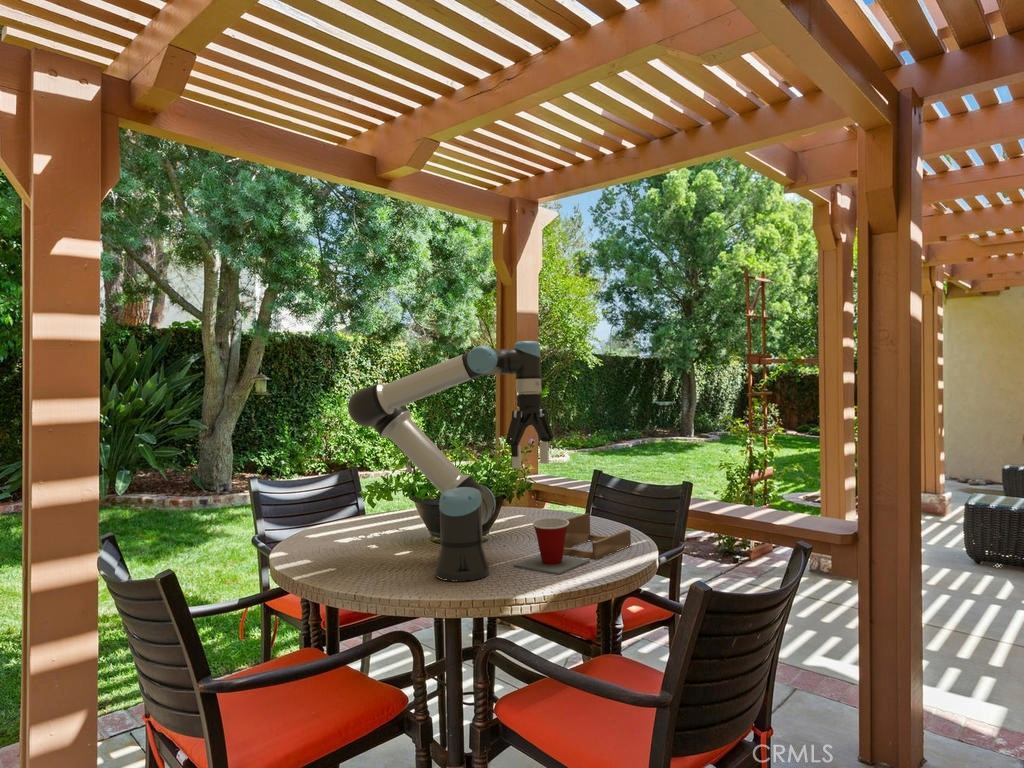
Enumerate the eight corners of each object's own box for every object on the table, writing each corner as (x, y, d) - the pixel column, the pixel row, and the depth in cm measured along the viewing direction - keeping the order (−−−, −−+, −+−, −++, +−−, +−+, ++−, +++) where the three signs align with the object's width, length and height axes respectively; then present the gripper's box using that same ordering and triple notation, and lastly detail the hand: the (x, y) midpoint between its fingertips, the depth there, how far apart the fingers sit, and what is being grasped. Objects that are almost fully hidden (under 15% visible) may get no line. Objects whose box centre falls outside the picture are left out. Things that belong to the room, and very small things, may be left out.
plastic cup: (530, 567, 186) (529, 524, 186) (535, 557, 197) (534, 517, 197) (568, 567, 184) (567, 525, 184) (572, 558, 195) (570, 517, 195)
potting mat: (513, 566, 189) (513, 564, 189) (545, 555, 201) (545, 553, 201) (558, 575, 179) (558, 572, 179) (589, 562, 192) (589, 560, 192)
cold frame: (551, 552, 204) (550, 524, 204) (587, 539, 221) (586, 513, 221) (596, 560, 194) (595, 529, 194) (630, 545, 211) (630, 517, 211)
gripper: (512, 393, 181) (514, 470, 180) (563, 392, 200) (565, 462, 200) (491, 394, 185) (494, 469, 185) (543, 393, 205) (545, 461, 204)
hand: (531, 465), depth 192 cm, fingers open, 13 cm apart
